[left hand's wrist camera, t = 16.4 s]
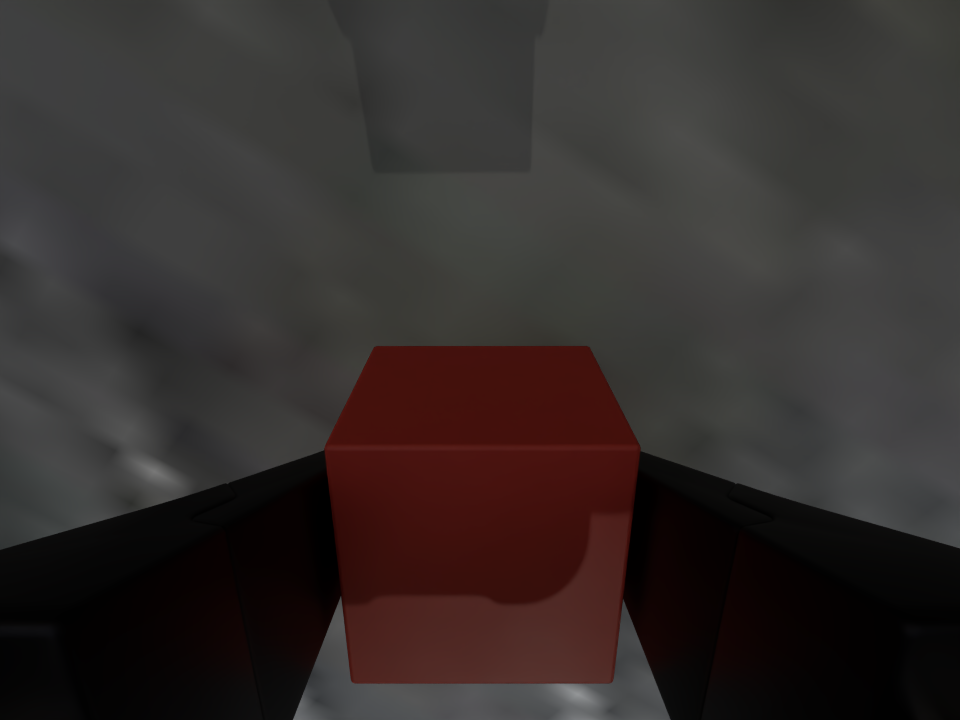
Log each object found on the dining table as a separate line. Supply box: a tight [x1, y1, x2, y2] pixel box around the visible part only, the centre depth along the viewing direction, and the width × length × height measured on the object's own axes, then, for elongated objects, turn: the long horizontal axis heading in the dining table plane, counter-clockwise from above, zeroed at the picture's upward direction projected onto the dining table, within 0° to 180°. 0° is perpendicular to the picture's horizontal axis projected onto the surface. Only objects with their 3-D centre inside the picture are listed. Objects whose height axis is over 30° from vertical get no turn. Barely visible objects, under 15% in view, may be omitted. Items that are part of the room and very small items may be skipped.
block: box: [324, 346, 641, 683], centre depth 11 cm, size 5×4×4 cm
